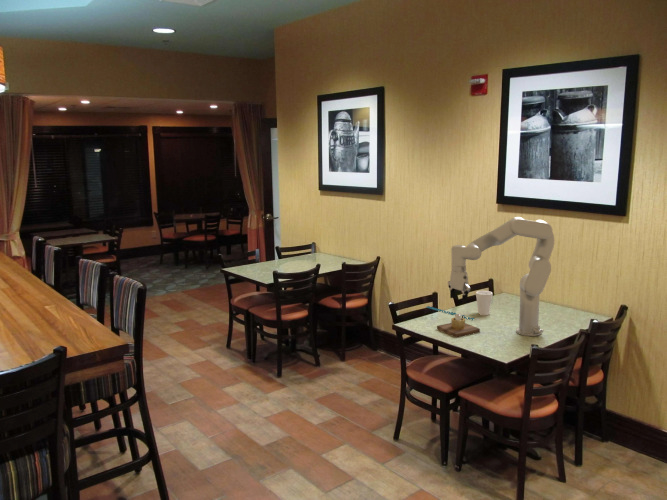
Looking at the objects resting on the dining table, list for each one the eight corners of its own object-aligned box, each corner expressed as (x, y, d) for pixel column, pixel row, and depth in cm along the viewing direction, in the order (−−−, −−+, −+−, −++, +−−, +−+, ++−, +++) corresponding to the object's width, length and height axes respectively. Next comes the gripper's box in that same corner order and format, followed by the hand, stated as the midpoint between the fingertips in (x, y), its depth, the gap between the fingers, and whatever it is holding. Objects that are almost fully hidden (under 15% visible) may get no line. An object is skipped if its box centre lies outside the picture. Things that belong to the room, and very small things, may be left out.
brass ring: (467, 327, 289) (467, 319, 288) (457, 330, 286) (457, 321, 285) (458, 324, 295) (459, 316, 294) (448, 326, 292) (448, 318, 291)
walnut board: (479, 332, 287) (479, 328, 287) (456, 337, 280) (456, 334, 280) (459, 324, 301) (459, 321, 301) (437, 329, 294) (437, 325, 294)
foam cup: (492, 316, 314) (493, 294, 312) (476, 316, 316) (476, 294, 314) (491, 311, 323) (491, 290, 321) (475, 311, 325) (475, 290, 323)
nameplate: (471, 321, 307) (476, 319, 310) (471, 320, 307) (476, 318, 310) (424, 308, 336) (429, 306, 339) (424, 307, 336) (429, 305, 339)
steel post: (462, 327, 290) (462, 315, 289) (457, 328, 288) (457, 316, 287) (458, 325, 293) (458, 313, 291) (453, 326, 291) (453, 314, 290)
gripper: (475, 270, 279) (475, 302, 282) (453, 265, 294) (453, 295, 297) (464, 272, 276) (464, 304, 279) (442, 266, 291) (443, 297, 294)
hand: (458, 299), depth 288 cm, fingers open, 9 cm apart
